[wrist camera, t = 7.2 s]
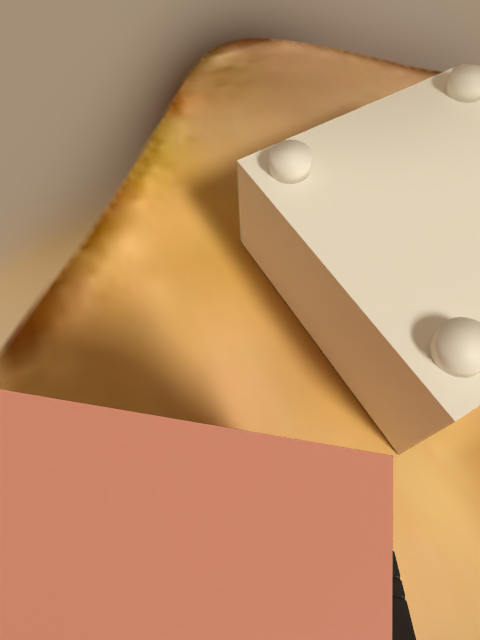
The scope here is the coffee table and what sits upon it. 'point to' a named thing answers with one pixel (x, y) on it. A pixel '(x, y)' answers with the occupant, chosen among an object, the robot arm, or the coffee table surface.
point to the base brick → (382, 247)
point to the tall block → (186, 530)
